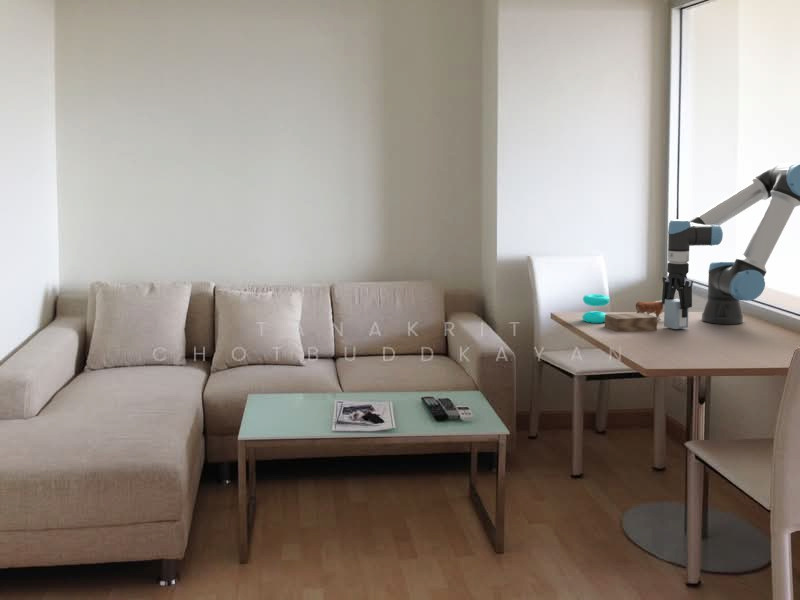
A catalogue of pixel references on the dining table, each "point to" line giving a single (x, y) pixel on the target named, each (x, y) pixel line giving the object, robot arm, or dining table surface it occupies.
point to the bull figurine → (651, 308)
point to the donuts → (595, 301)
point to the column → (673, 314)
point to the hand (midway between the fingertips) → (675, 324)
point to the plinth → (630, 322)
